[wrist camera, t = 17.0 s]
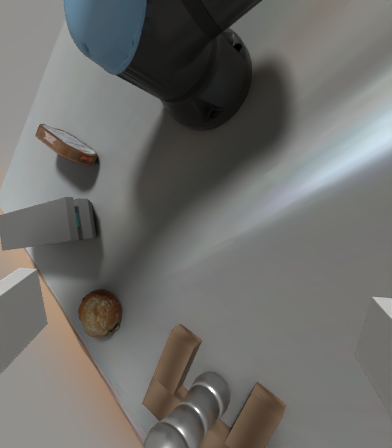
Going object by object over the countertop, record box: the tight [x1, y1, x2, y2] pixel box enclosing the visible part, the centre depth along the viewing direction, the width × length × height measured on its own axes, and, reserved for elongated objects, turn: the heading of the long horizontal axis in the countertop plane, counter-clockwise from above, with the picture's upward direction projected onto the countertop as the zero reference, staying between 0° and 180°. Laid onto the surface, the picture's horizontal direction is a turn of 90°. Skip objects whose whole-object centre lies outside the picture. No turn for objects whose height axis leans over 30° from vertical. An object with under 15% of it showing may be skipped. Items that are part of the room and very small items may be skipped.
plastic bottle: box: [144, 372, 230, 448], centre depth 38 cm, size 6×7×20 cm
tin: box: [35, 124, 97, 166], centre depth 56 cm, size 15×3×8 cm, turn 60°
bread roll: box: [78, 290, 122, 337], centre depth 57 cm, size 10×10×8 cm
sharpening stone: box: [0, 197, 96, 250], centre depth 57 cm, size 25×8×11 cm, turn 99°
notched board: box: [142, 324, 286, 448], centre depth 46 cm, size 21×18×3 cm
